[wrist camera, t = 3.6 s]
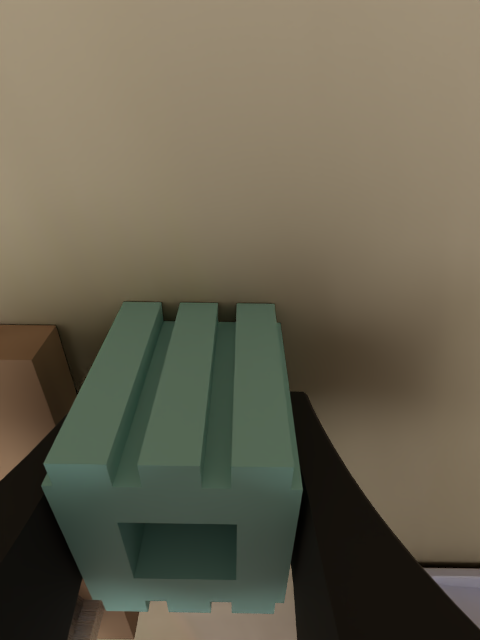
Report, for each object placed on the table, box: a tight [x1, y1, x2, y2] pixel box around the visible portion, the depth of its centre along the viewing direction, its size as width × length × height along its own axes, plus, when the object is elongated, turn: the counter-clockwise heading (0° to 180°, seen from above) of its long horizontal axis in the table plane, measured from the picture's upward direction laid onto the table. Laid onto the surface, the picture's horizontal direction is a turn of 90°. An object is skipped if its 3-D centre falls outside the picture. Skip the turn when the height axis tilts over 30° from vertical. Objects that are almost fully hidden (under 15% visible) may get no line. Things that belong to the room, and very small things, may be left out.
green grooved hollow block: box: [41, 302, 303, 614], centre depth 10 cm, size 4×6×5 cm
